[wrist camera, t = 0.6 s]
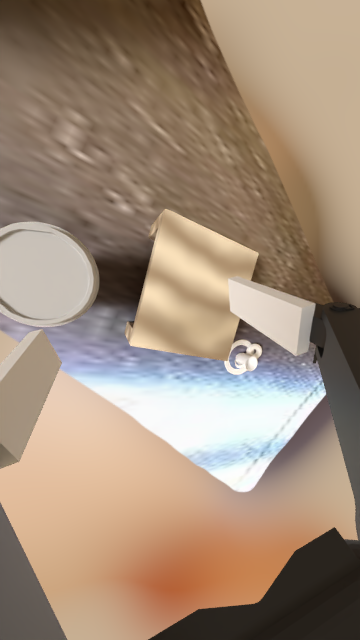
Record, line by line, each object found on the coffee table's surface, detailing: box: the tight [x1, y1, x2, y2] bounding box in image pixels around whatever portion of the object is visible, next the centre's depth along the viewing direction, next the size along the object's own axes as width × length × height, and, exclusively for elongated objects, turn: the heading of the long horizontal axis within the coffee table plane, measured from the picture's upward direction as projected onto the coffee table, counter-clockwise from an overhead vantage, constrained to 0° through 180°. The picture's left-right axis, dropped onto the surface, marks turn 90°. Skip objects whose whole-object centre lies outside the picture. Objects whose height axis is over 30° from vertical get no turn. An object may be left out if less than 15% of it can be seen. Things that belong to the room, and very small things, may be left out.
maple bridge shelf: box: [125, 208, 259, 361], centre depth 31 cm, size 18×16×8 cm
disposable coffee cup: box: [0, 222, 99, 327], centre depth 22 cm, size 10×10×12 cm
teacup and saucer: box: [225, 340, 262, 375], centre depth 41 cm, size 9×8×4 cm
